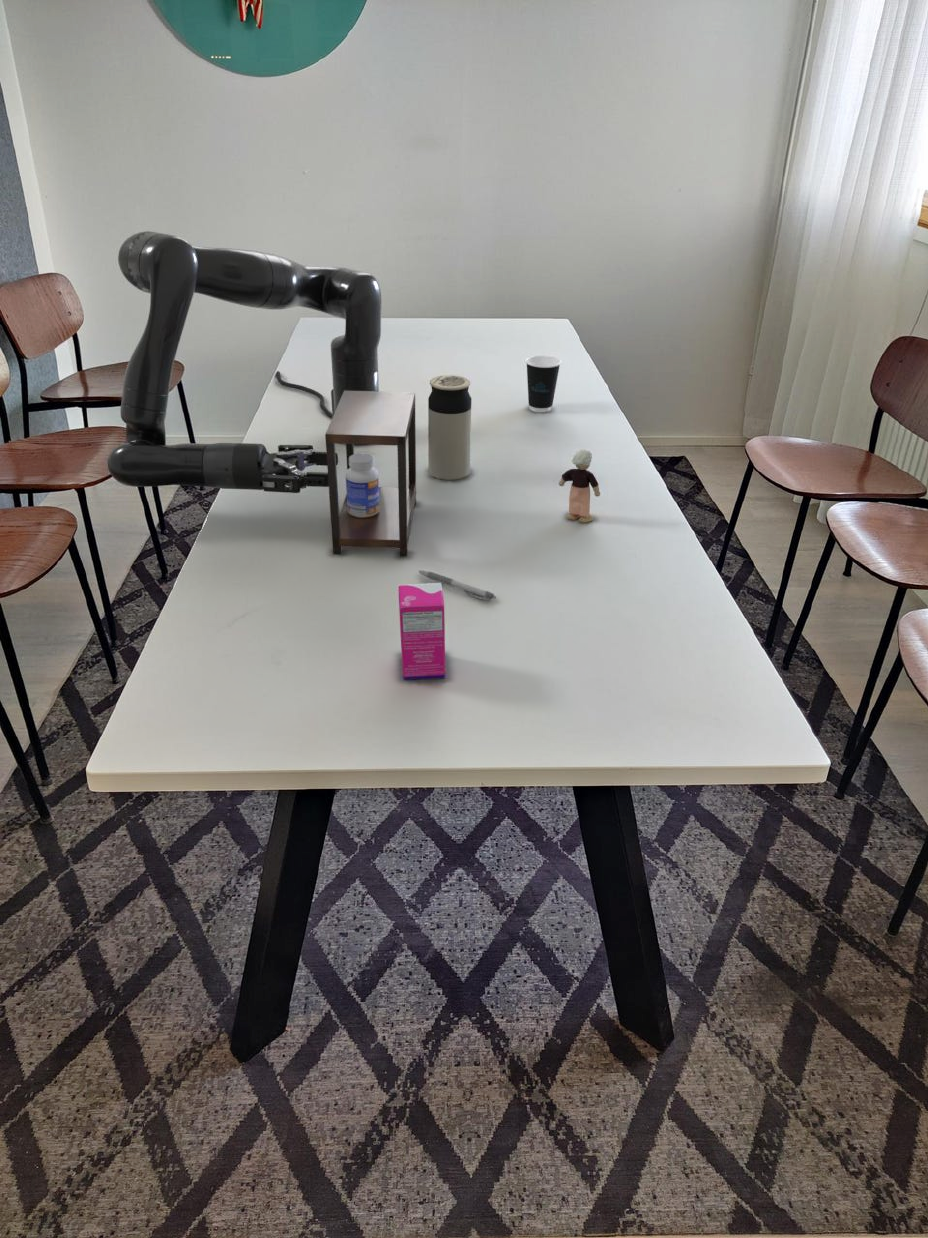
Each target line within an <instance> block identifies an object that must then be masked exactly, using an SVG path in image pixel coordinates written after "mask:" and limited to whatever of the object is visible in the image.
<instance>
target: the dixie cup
mask: <svg viewBox="0 0 928 1238" xmlns="http://www.w3.org/2000/svg"><path fill="white" fill-rule="evenodd" d="M524 362H525V364H526V378H527V379H526V380H527V397H528V398H527V399H528V401H527V402H528V405H529V410H530V411H532V412H534V413H548V412H550V411H552V406H553V405H554V399H555V393H556V389H557V382H558V376H559V372H560V366H561V365H562V360H561V359H559V358H558V357H555V356H550V355H533V356H529V357H527V358H526V359H525V361H524Z"/></svg>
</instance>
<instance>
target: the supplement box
mask: <svg viewBox="0 0 928 1238" xmlns="http://www.w3.org/2000/svg"><path fill="white" fill-rule="evenodd" d="M442 585H443V583H442V582H431V583H409V584H407V583H406V584H398V611H399V612H398V613H399V615H398V616H399V633H400V634H399V635H400V651H401V665H402V679H403V680H404V681H405V680H427V679H428V680H429V679H430V680H433V679H446V676H447V675H446V674H447V673H446V671H447V670H446V629H445V627H446V624H445V623H446V620H445V599H444V592H443V586H442Z"/></svg>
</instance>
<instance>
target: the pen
mask: <svg viewBox="0 0 928 1238" xmlns="http://www.w3.org/2000/svg"><path fill="white" fill-rule="evenodd" d="M418 573H419V574H420V575H422V576H423V577H426V578H428V579H430V580H433V581H437V582H438V583H441V584H445V585H448V586H451V587H455V588H457V589H461V590H463V591H464V593H466V594H468V595H470V596H472V597H474V598H477V599H479V600H483V601H490V600H492V599H496V598H497V596H496V595H495V594H494V593H492V592H491V591H489V590H486V589H483V588H479V587H477V586H473V585H471V584H468V583H464V582H461V581H459V580H457V579H453V578H451V577H448V576H445V575H442V574H439V573H436V572H432V571H429V570H425V569H420V570H418Z"/></svg>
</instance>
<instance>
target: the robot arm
mask: <svg viewBox="0 0 928 1238" xmlns="http://www.w3.org/2000/svg"><path fill="white" fill-rule="evenodd" d="M117 262H118V267H119V270H120V271H121V274H122V275H123V276H124V279H126V281H127V282H129V283H130V284H131V285H132V286H133V287H134V288H136V289H137V290H139V291H141V292H143V293H147V294H149V295H150V299H149V300H150V302H149V312H148V317H147V321H146V324H145V327H144V330H143V333H142V335H141V337H140V339H139V341H138V342H137V344H136V347H135V349H134V350H133V352H132V354H131V356H130V358H129V361H128V363H127V365H126V368H125V372H124V378H123V385H122V392H121V393H122V394H121V404H120V418H121V420H122V422H123V423H125V442H124V443H121V444H119V445H117V446H116V447H115V448H114V449H112V451H111V452H110V454H109V456H108V459H107V468H108V469H107V470H108V471H109V473H110V475H111V477H112V478H113V479H114V480H115V481H116V482H118V483H120V484H121V485H124V486H126V487H135V488H149V487H164V486H186V487H205V488H217V489H223V490H250V491H252V490H253V491H263V492H268V493H285V494H286V493H287V494H299V493H301V489H306V488H307V487H312V488H313V487H315V488H317V487H318V488H329V483H328V472H321V471H319V472H318V471H306V472H305V471H304V470H305V469H306V468H308V467H312V466H320V467H321V466H323V467H325V466H326V467H327V453H326V451H316V450H315V448H314V446H313V445H312V444H279V445H277V452H272V453H270V452H268V451H267V448H266V446H265V445H264V444H262V443H248V442H247V443H244V442H215V443H195V442H194V443H193V442H191V443H190V442H188V443H187V442H186V443H184V442H183V443H177V444H171V445H167V438H166V433H167V432H166V425H165V424H166V423H165V421H166V417H167V409H168V403H169V394H170V387H171V381H172V374H173V370H174V365H175V360H176V356H177V352H178V349H179V344H180V342H181V338H182V335H183V331H184V328H185V325H186V322H187V321H186V320H187V317H188V314H189V311H190V307H191V305H192V301H193V298H194V295H195V294H198V295H203V296H207V297H210V298H214V299H217V300H220V301H223V302H227V303H231V304H234V305H239V306H244V307H249V308H255V309H262V310H273V311H281V310H288V309H293V308H306V309H310V310H314V311H318V312H320V313H324V314H327V315H329V316H332V317H335V318H338V319H341V320H345V325H344V327H345V328H344V334H341V335H338V336H337V337H334V338H333V339H332V340H331V342H330V359H331V362H330V363H331V376H332V377H331V378H332V389H331V390H330V398H331V412H330V410H328V408H327V406H326V405H325V397H324V395H322V394H321V393H320V392H319V391H317V390H315V389H312V388H310V387H307V386H304V385H302V384H295V383H292V382H291V383H290V382H287V381H284V380H283V379H282V377H281V372H280V371H278V370H277V371H276V372H275V375H274V376H275V377H276V380H277V382H278V384H280V385H281V386H283V387H285V388H291V389H295V390H300V391H303V392H306V393H309V394H311V395H314V396H315V397H317V398H318V399H319V407H320V409H321V410H322V412H323V413H324V414H325V415H326V416H327V417H328V418H329V419H332V418H333V415H334V413H335V411H336V408H337V406H338V404H339V401H340V399H341V397H342V394H343V392H344V390H345V391H378V392H380V386H379V385H380V384H379V382H380V381H379V357H378V356H379V355H378V354H379V353H378V349H379V348H378V347H379V345H380V341H381V337H382V291H381V286H380V284H379V282H378V280H377V278H376V277H375V275H373V274H371V273H368V272H365V271H360V270H356V269H351V268H347V267H337V266H336V267H335V266H334V267H327V266H325V267H323V266H309V265H303V264H300V263H298V262H296V261H294V260H292V259H289V258H287V257H284V256H281V255H277V254H273V253H268V252H263V251H257V250H249V249H240V248H229V247H228V248H225V247H204V246H196V245H192V244H191V243H190V242H189V241H187V240H186V239H184V238H183V237H181V236H177V235H174V234H168V233H162V232H157V231H150V230H149V231H148V230H147V231H146V230H145V231H139V232H137V233H134V234H132V235H130V236H128V237H127V238H126V239H125V240H124V241H123V243H122V244H121V246H120V248H119V250H118V255H117ZM356 445H357V446H358V445H359V446H360V444H354V446H356ZM338 464H339V454H338V453H337V452H336V466H338Z"/></svg>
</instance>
